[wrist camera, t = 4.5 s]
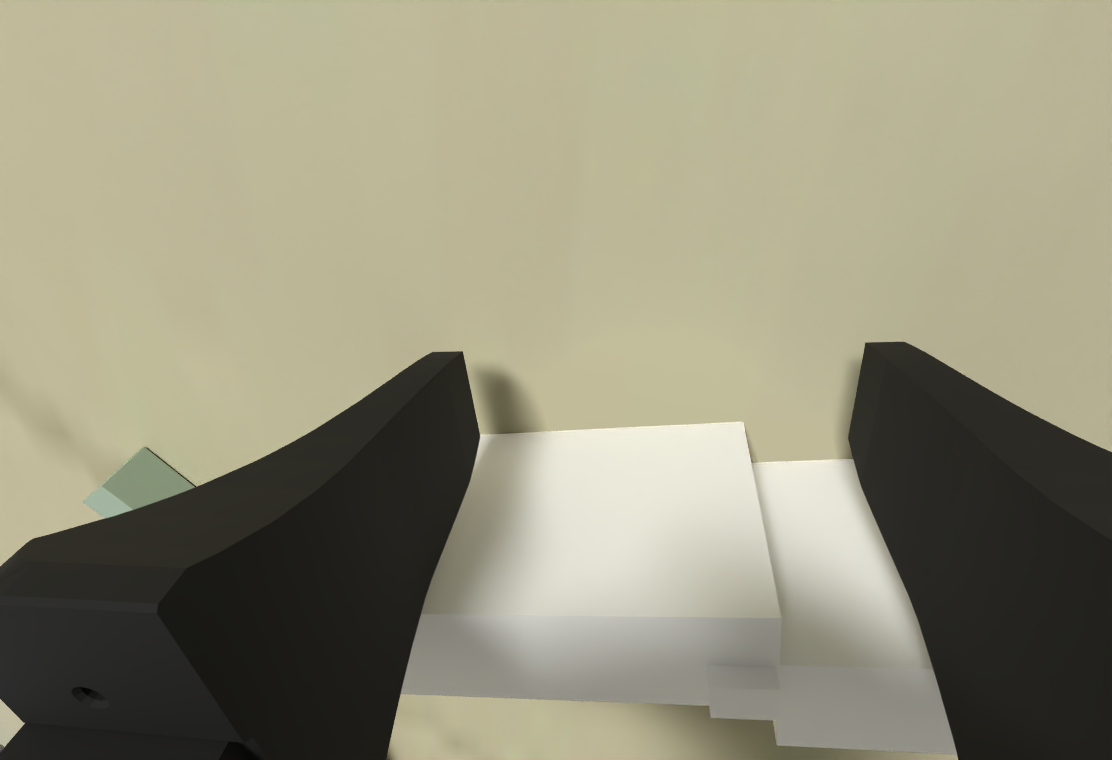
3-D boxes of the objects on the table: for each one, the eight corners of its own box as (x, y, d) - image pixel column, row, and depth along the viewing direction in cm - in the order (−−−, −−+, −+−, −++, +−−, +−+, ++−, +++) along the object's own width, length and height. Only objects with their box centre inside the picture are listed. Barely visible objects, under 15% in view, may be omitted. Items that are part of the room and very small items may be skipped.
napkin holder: (349, 494, 17) (227, 698, 12) (550, 99, 11) (466, 193, 6) (797, 709, 19) (843, 950, 14) (1163, 484, 13) (1448, 768, 8)
